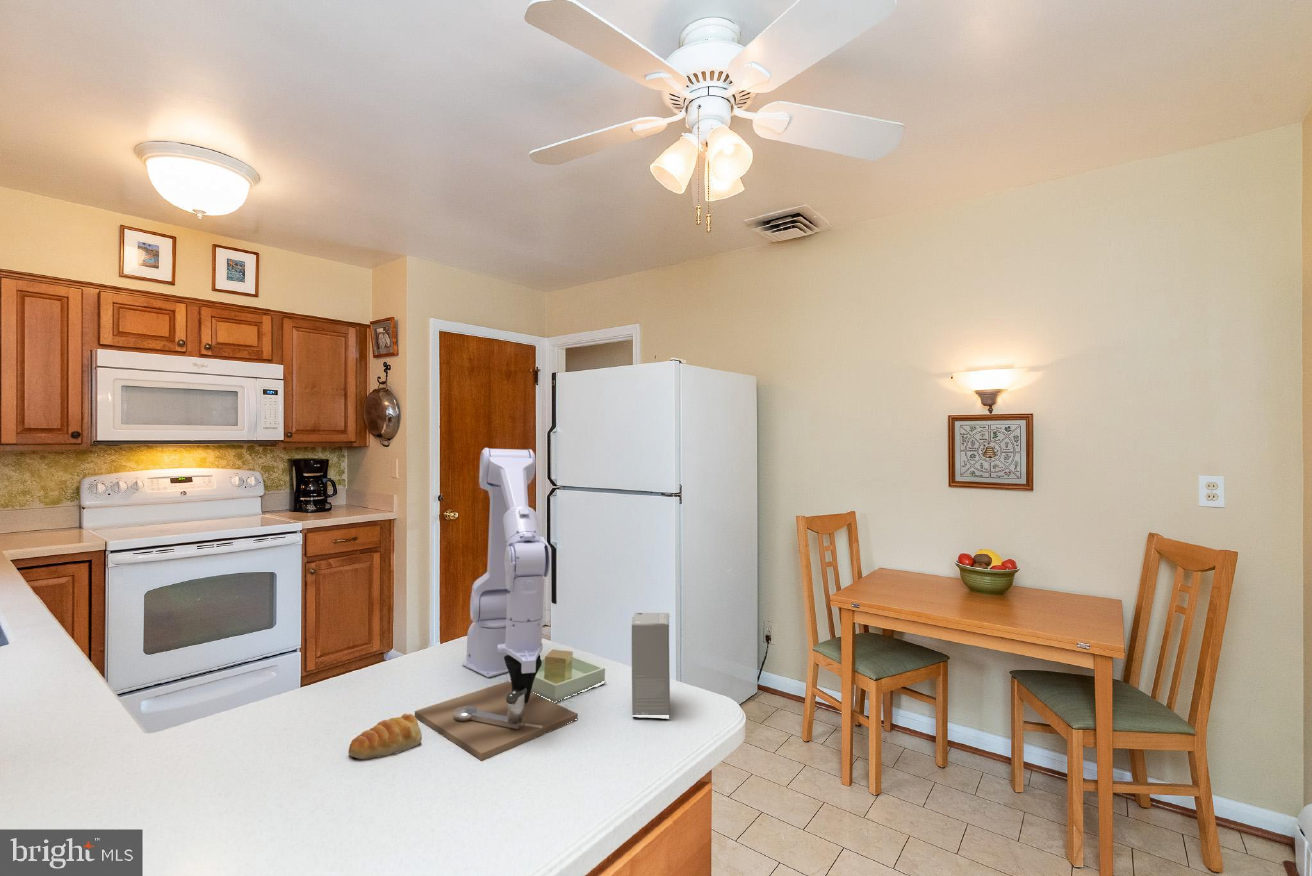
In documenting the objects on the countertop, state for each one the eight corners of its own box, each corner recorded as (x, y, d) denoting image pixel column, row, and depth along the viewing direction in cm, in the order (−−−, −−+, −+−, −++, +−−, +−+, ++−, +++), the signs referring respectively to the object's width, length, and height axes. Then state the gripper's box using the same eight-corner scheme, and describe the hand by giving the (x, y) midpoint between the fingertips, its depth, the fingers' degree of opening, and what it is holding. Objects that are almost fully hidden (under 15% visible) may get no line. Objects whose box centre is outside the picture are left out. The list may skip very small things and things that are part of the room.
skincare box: (669, 721, 99) (673, 625, 99) (626, 719, 99) (630, 623, 99) (669, 700, 107) (673, 611, 107) (629, 698, 107) (633, 609, 108)
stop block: (543, 683, 110) (545, 656, 110) (551, 675, 114) (552, 649, 114) (564, 686, 109) (565, 658, 109) (571, 678, 113) (572, 651, 113)
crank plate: (414, 717, 97) (414, 710, 97) (508, 686, 110) (508, 680, 110) (481, 760, 84) (481, 752, 84) (577, 720, 98) (577, 713, 98)
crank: (446, 720, 94) (448, 684, 94) (464, 708, 98) (465, 673, 98) (514, 734, 90) (515, 696, 90) (529, 721, 94) (531, 685, 94)
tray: (513, 683, 112) (513, 667, 112) (562, 667, 121) (563, 652, 121) (554, 703, 104) (555, 685, 104) (604, 684, 113) (605, 668, 113)
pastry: (360, 769, 81) (361, 741, 81) (339, 752, 86) (341, 725, 86) (425, 745, 88) (426, 719, 88) (403, 730, 93) (404, 705, 93)
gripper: (495, 606, 102) (491, 686, 102) (503, 632, 88) (499, 725, 88) (537, 604, 104) (533, 682, 104) (551, 629, 90) (547, 720, 90)
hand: (520, 702), depth 96 cm, fingers closed
